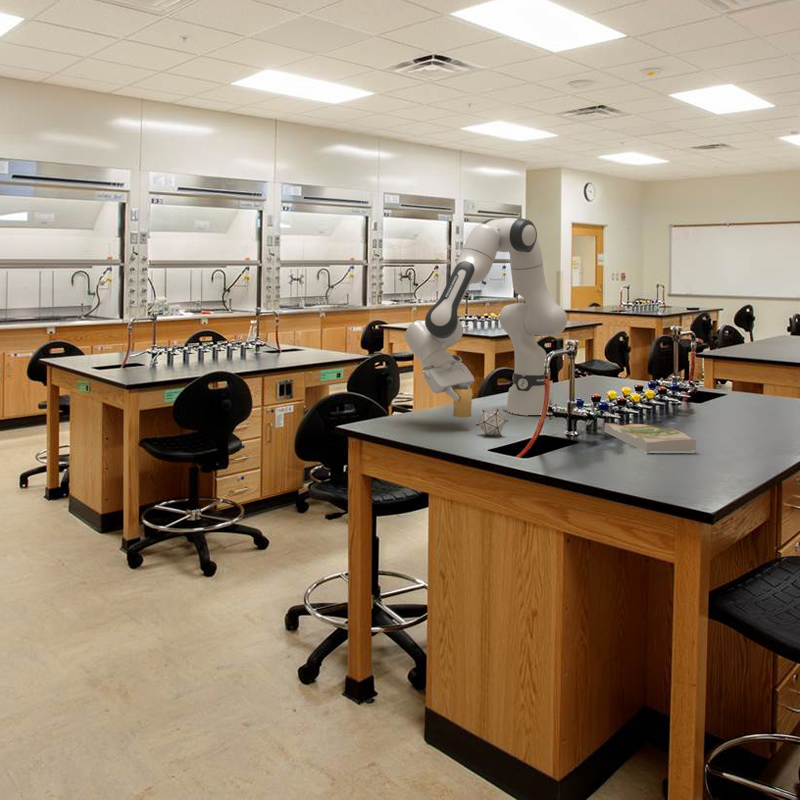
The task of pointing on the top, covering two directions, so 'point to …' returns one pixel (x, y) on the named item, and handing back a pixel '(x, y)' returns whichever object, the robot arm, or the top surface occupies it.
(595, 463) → the top surface
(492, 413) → the game die
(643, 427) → the topographic model
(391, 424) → the top surface
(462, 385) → the bottle
